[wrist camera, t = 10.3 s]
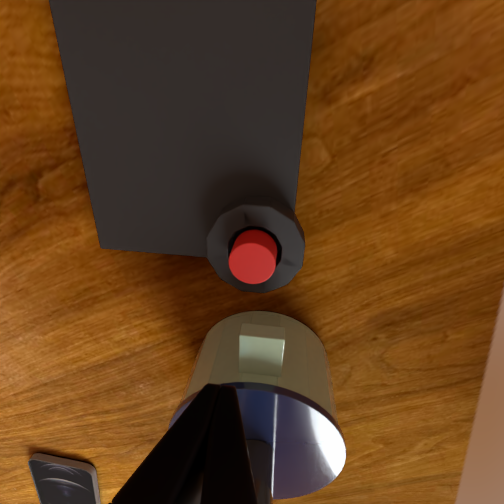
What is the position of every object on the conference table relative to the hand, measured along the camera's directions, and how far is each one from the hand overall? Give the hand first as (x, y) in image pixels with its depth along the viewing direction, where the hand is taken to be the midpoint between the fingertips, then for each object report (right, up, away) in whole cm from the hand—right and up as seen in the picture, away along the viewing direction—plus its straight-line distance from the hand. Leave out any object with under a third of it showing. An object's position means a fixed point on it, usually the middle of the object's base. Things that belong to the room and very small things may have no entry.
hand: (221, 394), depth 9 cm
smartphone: (-21, -25, +29) cm, 44 cm away
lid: (+1, -8, +10) cm, 13 cm away
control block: (-2, +12, +8) cm, 15 cm away
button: (+1, +4, +8) cm, 9 cm away
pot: (+2, -5, +16) cm, 16 cm away
